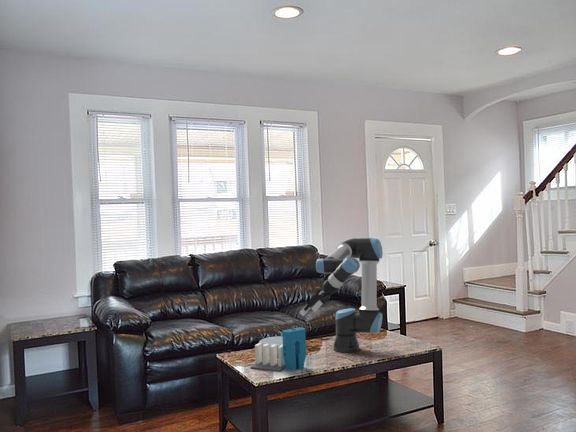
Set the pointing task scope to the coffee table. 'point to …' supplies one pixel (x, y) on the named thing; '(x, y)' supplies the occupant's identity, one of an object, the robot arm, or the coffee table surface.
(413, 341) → the coffee table surface
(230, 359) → the coffee table surface
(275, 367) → the domino mat
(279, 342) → the serving bowl
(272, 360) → the domino
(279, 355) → the domino
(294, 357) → the block
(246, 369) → the coffee table surface
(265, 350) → the domino
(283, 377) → the coffee table surface
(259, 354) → the domino
